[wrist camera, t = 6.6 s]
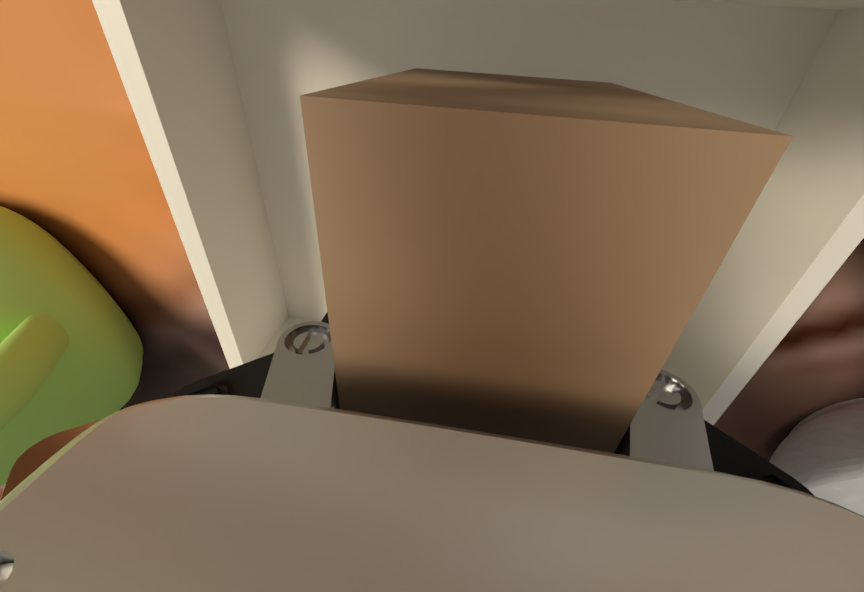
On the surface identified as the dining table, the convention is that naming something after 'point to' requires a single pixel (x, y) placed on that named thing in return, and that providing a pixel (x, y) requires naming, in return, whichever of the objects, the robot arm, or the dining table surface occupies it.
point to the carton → (507, 55)
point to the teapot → (56, 342)
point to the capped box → (519, 243)
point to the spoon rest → (828, 454)
